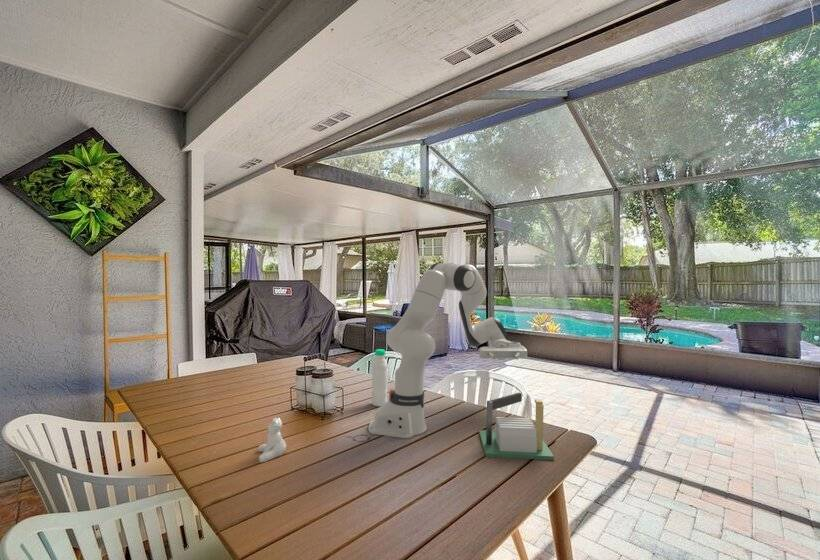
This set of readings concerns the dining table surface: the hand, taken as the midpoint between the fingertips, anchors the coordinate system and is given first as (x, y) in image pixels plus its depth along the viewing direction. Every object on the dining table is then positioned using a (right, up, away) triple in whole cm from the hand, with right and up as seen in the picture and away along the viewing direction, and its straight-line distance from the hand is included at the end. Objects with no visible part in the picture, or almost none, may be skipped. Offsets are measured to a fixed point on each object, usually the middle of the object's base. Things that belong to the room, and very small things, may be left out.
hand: (505, 357), depth 156 cm
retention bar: (-6, -24, -21) cm, 33 cm away
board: (-3, -26, -24) cm, 36 cm away
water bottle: (-54, -25, +15) cm, 61 cm away
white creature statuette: (-85, -25, -33) cm, 95 cm away
